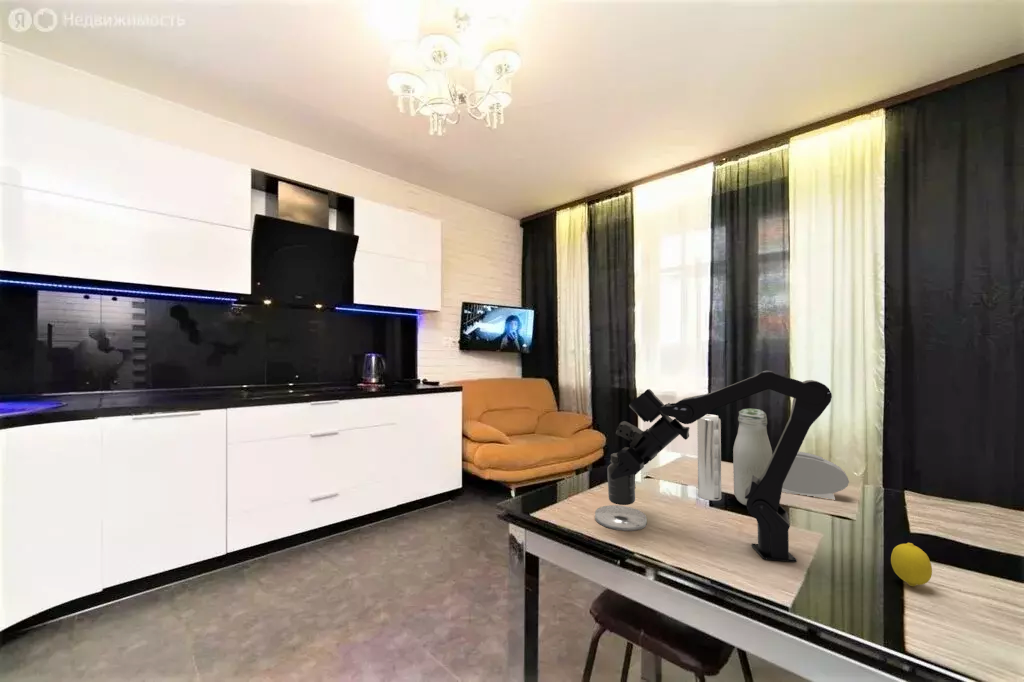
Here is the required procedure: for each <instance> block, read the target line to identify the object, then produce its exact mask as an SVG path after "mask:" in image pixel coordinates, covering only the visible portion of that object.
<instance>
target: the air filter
mask: <svg viewBox="0 0 1024 682" xmlns="http://www.w3.org/2000/svg"><path fill="white" fill-rule="evenodd" d="M721 423H722V421H721V418H719V415H718V414H717V415H716V414H710V413H708V414H707V415H705V416H703V417H702V418H700V419H698V420H697V423H696V425H697V426H696V427H697V428H696V429H697V433H696V434H697V435H696V436H697V438H696V439H697V496H698V497H699V498H700V497H701V499H704V500H707V501H720V500H721V499H722V443H721V441H722V440H721V439H722V436H721V435H722V434H721V432H722V431H721V429H722V424H721Z"/></svg>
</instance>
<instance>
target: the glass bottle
mask: <svg viewBox="0 0 1024 682" xmlns="http://www.w3.org/2000/svg"><path fill="white" fill-rule="evenodd" d="M737 421H738V429H737V434H736V437H735V440H734V444H733V447H732V448H733V449H732V451H733V453H732V457H733V458H732V459H733V461H732V465H733V472H732V473H733V494H734V496H735V498H736V500H737V501H738V502H739V503H740V504H742V505H743V506H746V504H747V499H745V491H746V488H748V487H749V485H750V483H751V479H752V475H754V476H755V477H757V478H758V479H759V478H760V477H761V476H762V474H763V473H764V472H765V470H766V468H767V466H768V464H769V461H770V459H771V457H772V454H773V450H772V449H773V448H772V446H771V442H770V439H769V435H768V429H767V425H768V418H767V413H766V412H765V411H763V410H762V409H759V408H758V409H757V408H742V409H741V410H739V411H738V417H737Z"/></svg>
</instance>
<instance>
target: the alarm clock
mask: <svg viewBox="0 0 1024 682" xmlns="http://www.w3.org/2000/svg"><path fill="white" fill-rule="evenodd" d="M772 455H773V453H772ZM849 483H850V481H849V477H848V475H847V474H846V472H845V471H844V470H843V469H842V467H841V466H840V465H837V464H836V463H834V462H832V461H830V460H827V459H825V458H823V457H822V456H820V455H816V454H813V453H809V452H804V451H798V453H797V455H796V457H795V460H794V462H793V464H792V466H791V468H790V470H789V472H788V474H787V477H786V479H785V481H784V483H783V487H782V492H781V493H784V492H786V493H785V494H790V493H792V494H791V495H796V494H800V495H799V496H802V495H807V496H806V497H808V496H815V497H821V498H828V499H834V500H835V501H836V497H835V494H834V493H838V492H841V491H844V490H845V489H846V488H847V487H848V486H849ZM815 497H814V498H815ZM821 498H820V499H821Z"/></svg>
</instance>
